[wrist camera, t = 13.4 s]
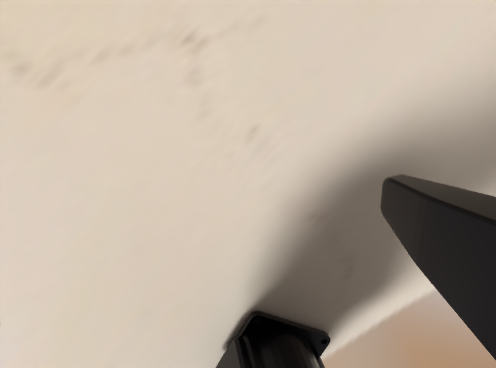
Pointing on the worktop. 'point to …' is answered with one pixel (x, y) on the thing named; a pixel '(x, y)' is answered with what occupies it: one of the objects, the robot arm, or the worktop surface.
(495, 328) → the robot arm
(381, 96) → the worktop surface
